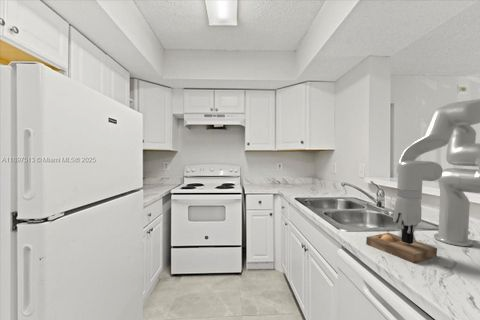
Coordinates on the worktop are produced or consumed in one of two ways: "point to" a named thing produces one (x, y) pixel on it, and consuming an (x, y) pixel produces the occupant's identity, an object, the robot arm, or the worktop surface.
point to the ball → (387, 238)
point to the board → (402, 248)
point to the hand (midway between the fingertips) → (407, 242)
